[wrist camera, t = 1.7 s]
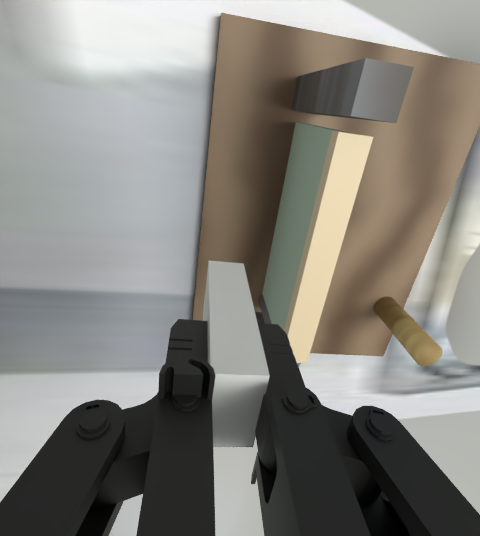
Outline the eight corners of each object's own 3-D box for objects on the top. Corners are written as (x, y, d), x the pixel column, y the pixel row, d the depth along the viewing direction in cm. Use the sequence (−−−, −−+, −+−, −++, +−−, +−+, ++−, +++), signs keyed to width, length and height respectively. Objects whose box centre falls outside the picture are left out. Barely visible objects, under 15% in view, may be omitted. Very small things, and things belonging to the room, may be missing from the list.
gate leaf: (257, 308, 34) (276, 380, 25) (293, 121, 27) (338, 131, 18) (276, 309, 35) (301, 381, 26) (317, 125, 27) (373, 137, 18)
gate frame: (190, 341, 37) (184, 450, 26) (220, 16, 24) (236, -63, 13) (379, 350, 41) (449, 449, 29) (493, 69, 28) (702, 46, 16)
